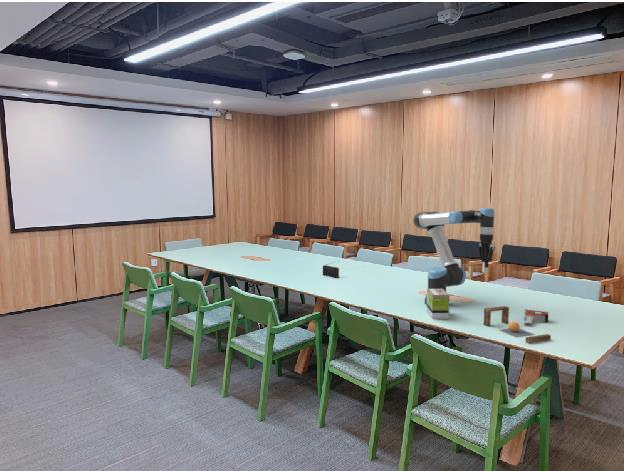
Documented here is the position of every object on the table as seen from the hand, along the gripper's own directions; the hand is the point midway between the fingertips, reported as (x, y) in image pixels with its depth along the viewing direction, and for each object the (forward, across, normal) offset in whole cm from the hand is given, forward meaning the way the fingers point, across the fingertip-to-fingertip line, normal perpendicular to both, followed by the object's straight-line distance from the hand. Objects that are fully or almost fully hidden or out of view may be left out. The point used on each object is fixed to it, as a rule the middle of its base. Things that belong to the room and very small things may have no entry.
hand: (484, 272), depth 270 cm
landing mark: (+24, +37, -10) cm, 45 cm away
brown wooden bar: (+24, +51, -10) cm, 57 cm away
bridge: (+24, +22, -10) cm, 34 cm away
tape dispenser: (+25, +25, +13) cm, 38 cm away
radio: (+25, -126, -49) cm, 137 cm away
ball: (+22, +36, -10) cm, 43 cm away
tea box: (+25, -3, -31) cm, 40 cm away
